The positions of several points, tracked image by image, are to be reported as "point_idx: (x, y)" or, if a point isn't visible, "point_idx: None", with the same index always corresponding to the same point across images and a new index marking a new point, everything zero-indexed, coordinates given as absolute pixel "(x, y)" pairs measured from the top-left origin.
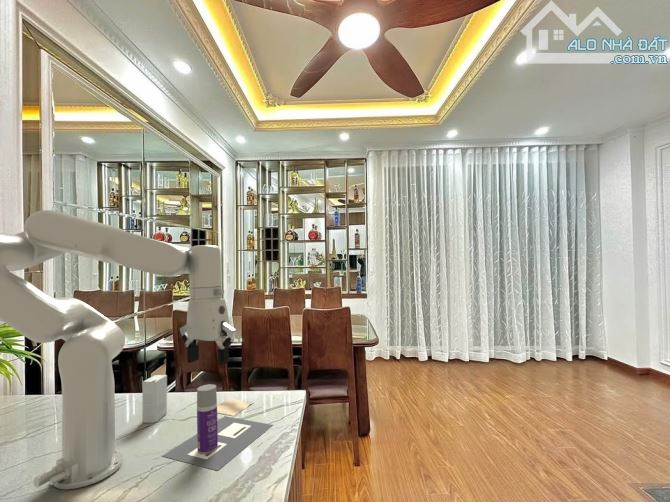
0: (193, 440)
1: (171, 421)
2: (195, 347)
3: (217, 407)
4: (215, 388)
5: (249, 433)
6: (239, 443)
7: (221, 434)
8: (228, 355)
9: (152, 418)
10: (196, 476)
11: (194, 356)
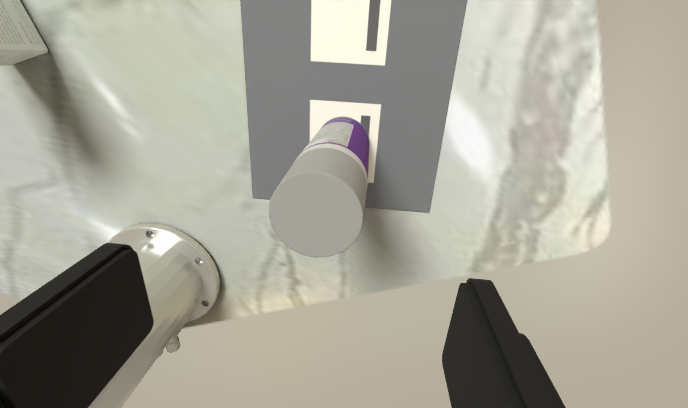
0: (268, 115)
1: (86, 24)
2: (35, 381)
3: None
4: (361, 203)
5: (417, 19)
6: (417, 90)
7: (325, 56)
8: (540, 369)
9: (28, 54)
10: (392, 237)
11: (117, 315)
